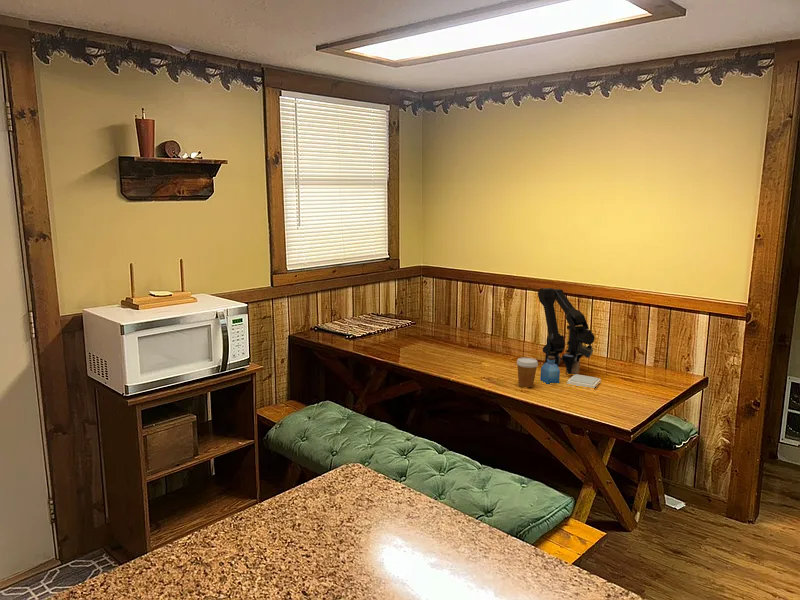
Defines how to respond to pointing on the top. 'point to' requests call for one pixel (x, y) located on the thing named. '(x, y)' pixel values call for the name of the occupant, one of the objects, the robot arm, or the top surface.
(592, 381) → the base
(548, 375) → the perfume bottle
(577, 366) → the block
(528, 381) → the disposable coffee cup
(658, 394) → the top surface
